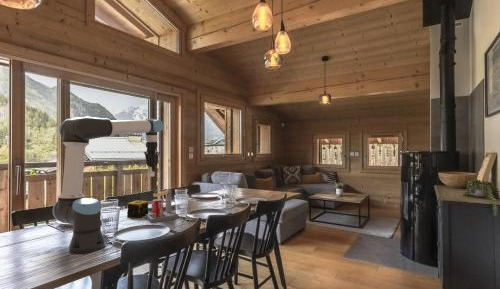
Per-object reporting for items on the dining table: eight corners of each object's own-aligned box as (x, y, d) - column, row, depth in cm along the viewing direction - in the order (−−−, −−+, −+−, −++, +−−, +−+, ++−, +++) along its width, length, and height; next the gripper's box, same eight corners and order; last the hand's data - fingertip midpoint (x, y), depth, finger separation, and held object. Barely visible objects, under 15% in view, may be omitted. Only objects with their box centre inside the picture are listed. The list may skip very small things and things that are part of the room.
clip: (168, 192, 196) (168, 188, 196) (172, 193, 194) (172, 188, 194) (152, 196, 183) (152, 191, 183) (156, 196, 181) (156, 191, 181)
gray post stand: (151, 222, 176) (150, 199, 176) (145, 217, 188) (145, 195, 187) (178, 218, 186) (178, 195, 186) (171, 213, 198) (171, 192, 198)
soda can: (159, 220, 180) (159, 201, 180) (149, 220, 182) (149, 200, 182) (165, 217, 187) (165, 198, 187) (155, 217, 189) (155, 198, 189)
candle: (126, 217, 189) (126, 203, 189) (136, 214, 199) (136, 200, 199) (139, 218, 186) (139, 204, 186) (148, 215, 196) (148, 200, 196)
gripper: (140, 141, 187) (141, 176, 187) (153, 141, 180) (154, 177, 181) (149, 141, 194) (150, 175, 194) (162, 141, 187) (163, 176, 187)
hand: (152, 176), depth 187 cm, fingers closed
